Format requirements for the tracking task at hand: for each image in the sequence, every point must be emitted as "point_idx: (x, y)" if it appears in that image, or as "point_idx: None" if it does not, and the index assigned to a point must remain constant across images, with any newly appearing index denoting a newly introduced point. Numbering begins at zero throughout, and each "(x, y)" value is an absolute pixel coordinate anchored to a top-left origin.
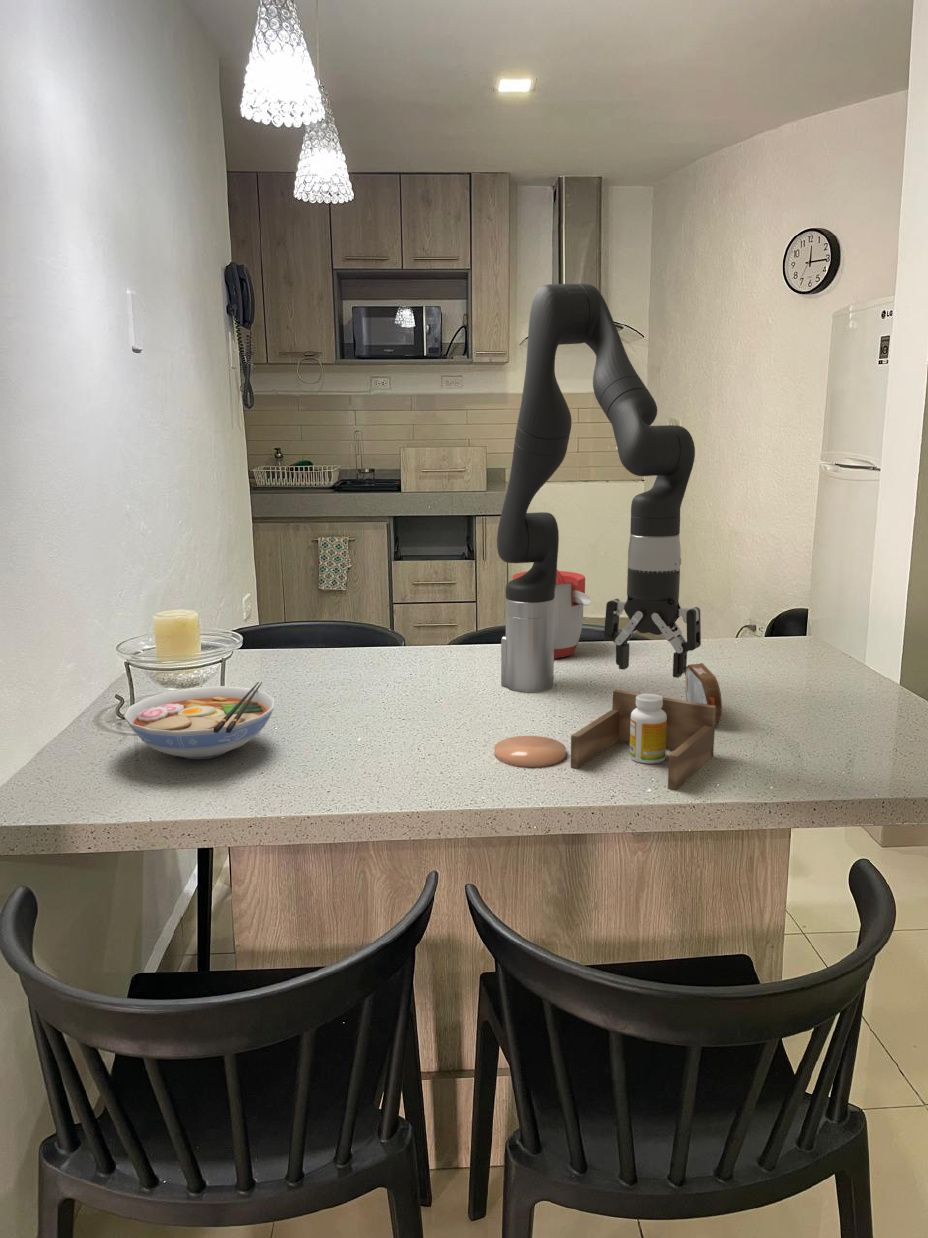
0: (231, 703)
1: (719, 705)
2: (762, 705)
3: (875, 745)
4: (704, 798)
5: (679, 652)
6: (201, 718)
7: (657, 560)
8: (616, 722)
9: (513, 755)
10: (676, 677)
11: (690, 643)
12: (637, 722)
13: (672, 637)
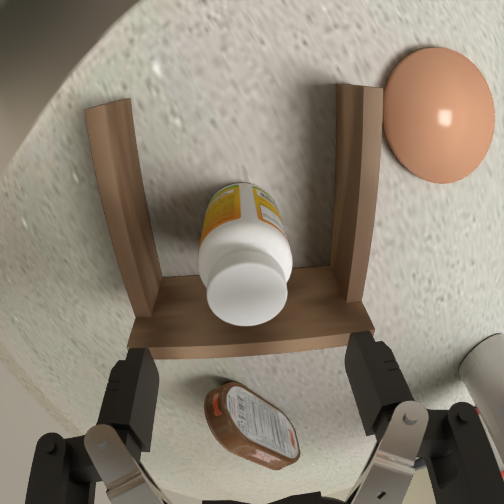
0: None
1: (207, 407)
2: (209, 441)
3: (55, 394)
4: (62, 107)
5: (99, 427)
6: None
7: None
8: (341, 278)
9: (455, 66)
10: (136, 348)
11: (50, 459)
12: (254, 218)
13: (114, 488)
